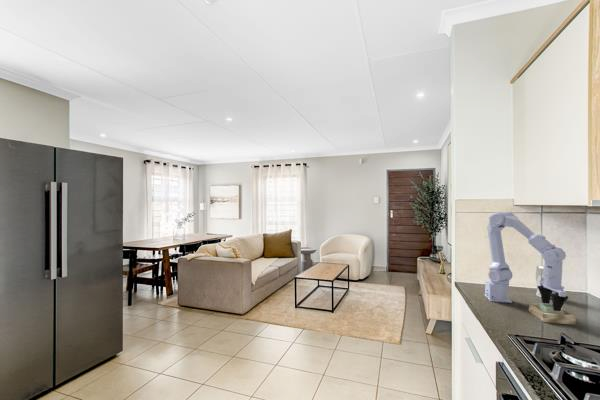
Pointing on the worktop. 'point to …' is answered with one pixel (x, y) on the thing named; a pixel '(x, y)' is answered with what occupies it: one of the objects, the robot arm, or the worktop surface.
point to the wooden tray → (552, 316)
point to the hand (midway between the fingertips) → (551, 306)
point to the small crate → (549, 309)
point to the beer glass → (539, 277)
